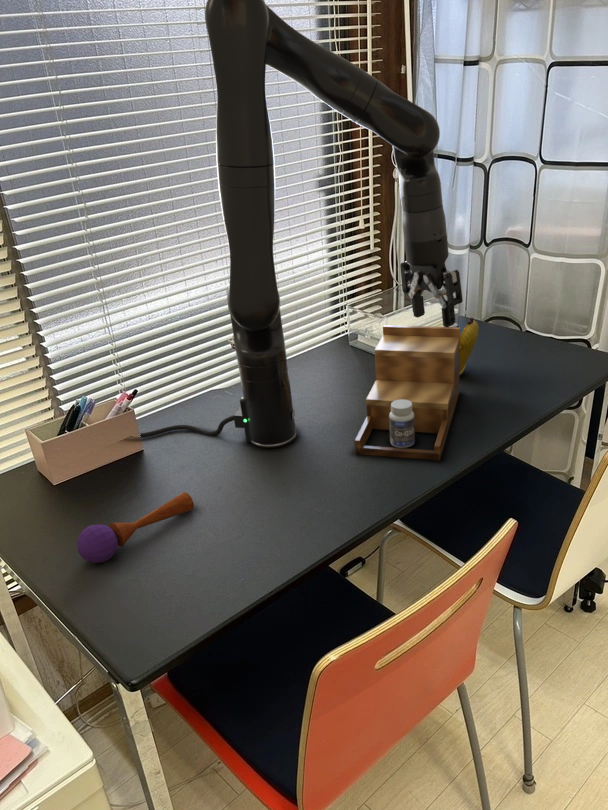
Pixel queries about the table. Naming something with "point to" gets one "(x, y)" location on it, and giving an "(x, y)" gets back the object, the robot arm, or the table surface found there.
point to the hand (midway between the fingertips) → (434, 320)
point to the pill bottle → (402, 424)
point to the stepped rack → (414, 385)
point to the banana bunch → (467, 342)
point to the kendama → (125, 530)
